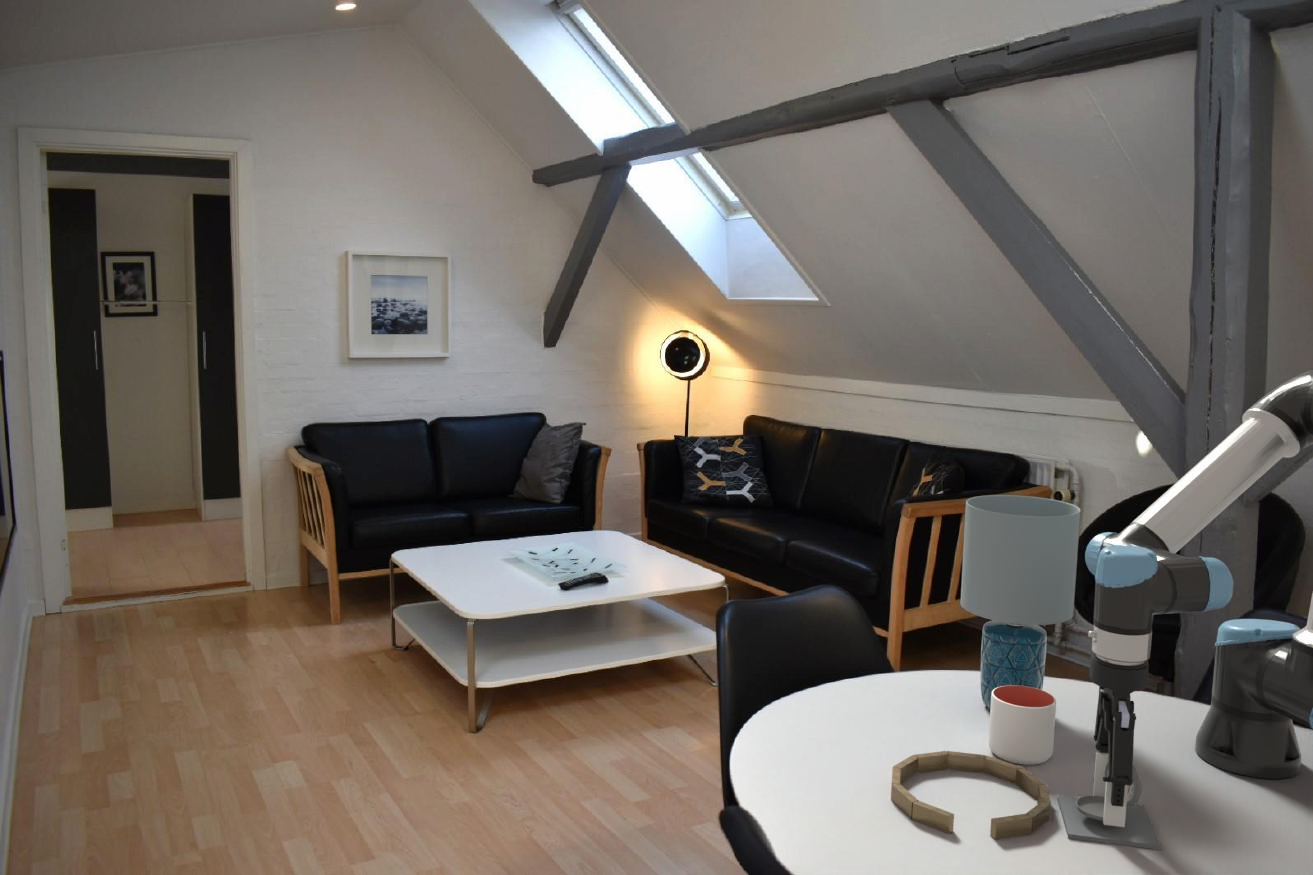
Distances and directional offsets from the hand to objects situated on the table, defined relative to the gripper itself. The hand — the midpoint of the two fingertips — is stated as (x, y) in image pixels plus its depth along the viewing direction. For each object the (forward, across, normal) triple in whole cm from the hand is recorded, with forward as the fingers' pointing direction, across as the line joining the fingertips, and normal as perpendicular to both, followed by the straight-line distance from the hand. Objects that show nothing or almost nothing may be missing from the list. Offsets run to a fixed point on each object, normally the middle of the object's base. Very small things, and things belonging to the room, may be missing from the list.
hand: (1108, 809), depth 152 cm
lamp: (+2, -41, -10) cm, 42 cm away
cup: (+2, -21, -10) cm, 23 cm away
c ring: (+2, -2, -19) cm, 19 cm away
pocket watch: (0, 0, 0) cm, 0 cm away
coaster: (+2, 0, 0) cm, 2 cm away
